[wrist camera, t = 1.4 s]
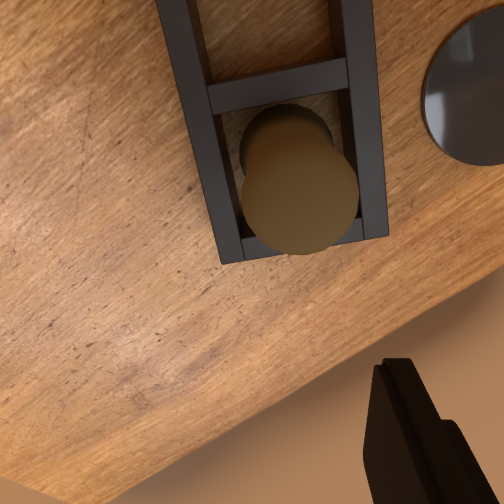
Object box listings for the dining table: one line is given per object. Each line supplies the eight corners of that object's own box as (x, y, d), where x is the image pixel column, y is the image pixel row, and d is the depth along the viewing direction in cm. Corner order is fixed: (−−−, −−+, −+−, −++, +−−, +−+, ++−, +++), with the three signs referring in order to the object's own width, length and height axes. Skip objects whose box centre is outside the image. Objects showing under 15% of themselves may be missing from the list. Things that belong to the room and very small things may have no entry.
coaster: (584, -13, 24) (591, -14, 24) (568, 149, 28) (573, 151, 27) (418, 23, 25) (421, 22, 25) (423, 176, 29) (426, 178, 28)
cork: (232, 190, 29) (220, 264, 19) (247, 95, 27) (242, 123, 17) (321, 205, 30) (355, 285, 20) (344, 113, 27) (396, 150, 17)
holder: (343, -138, 22) (359, -175, 18) (373, 213, 30) (389, 236, 26) (146, -89, 23) (126, -115, 19) (225, 239, 31) (221, 265, 27)
